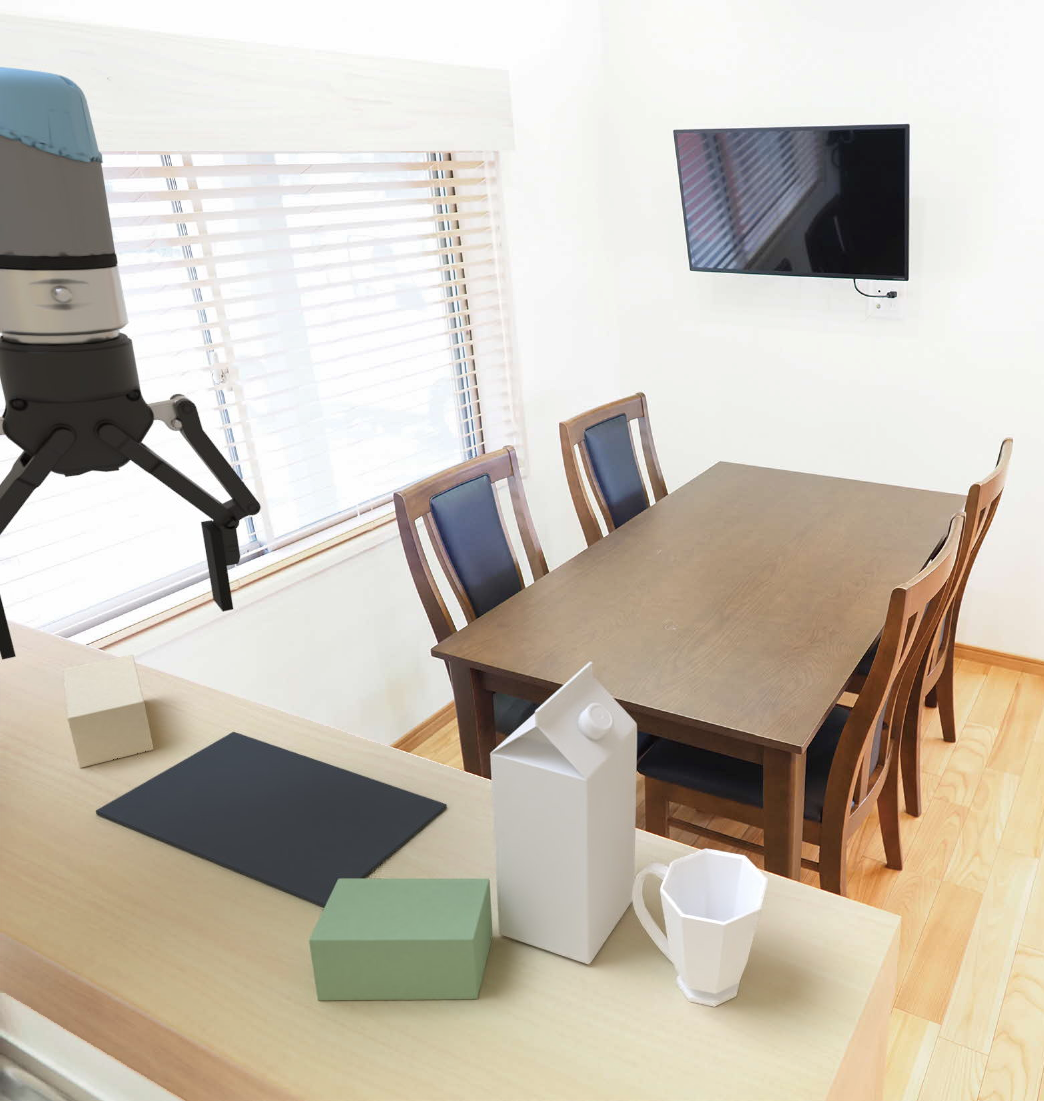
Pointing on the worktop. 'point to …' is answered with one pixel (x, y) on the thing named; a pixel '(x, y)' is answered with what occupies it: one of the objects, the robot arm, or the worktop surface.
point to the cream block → (106, 710)
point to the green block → (402, 939)
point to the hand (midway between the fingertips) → (121, 626)
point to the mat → (275, 815)
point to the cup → (705, 920)
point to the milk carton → (566, 820)
